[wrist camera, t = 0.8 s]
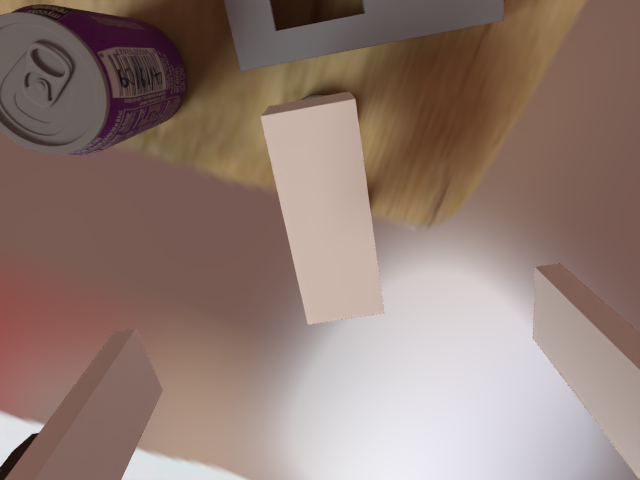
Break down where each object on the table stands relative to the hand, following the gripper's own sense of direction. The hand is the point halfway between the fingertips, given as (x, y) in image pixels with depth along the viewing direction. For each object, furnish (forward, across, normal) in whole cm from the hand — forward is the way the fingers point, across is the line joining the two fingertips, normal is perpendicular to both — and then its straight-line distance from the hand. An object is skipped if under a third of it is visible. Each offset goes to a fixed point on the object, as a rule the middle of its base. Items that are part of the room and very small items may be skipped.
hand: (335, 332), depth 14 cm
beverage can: (+21, -12, +9) cm, 26 cm away
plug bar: (+21, 0, 0) cm, 21 cm away
